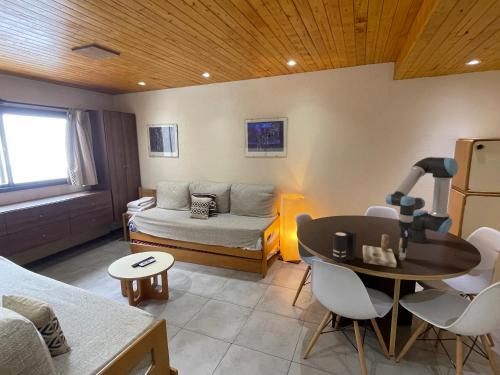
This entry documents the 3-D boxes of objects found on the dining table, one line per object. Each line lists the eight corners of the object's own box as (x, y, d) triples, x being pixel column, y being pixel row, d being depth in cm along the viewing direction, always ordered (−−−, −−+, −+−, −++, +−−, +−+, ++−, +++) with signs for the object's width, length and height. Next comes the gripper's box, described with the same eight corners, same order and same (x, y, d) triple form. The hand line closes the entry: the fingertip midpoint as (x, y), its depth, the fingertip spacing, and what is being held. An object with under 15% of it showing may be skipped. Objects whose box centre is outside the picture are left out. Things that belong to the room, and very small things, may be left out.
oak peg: (404, 258, 165) (406, 238, 163) (405, 261, 161) (408, 240, 159) (397, 257, 167) (399, 237, 164) (398, 260, 163) (400, 239, 161)
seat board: (391, 253, 173) (393, 233, 171) (396, 267, 153) (398, 245, 151) (362, 249, 180) (364, 230, 178) (363, 262, 160) (365, 241, 158)
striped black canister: (328, 258, 165) (330, 232, 162) (342, 253, 172) (343, 228, 169) (341, 264, 157) (343, 237, 154) (355, 259, 164) (356, 233, 161)
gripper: (396, 216, 169) (393, 249, 173) (401, 224, 153) (397, 260, 157) (409, 217, 166) (406, 251, 170) (415, 225, 150) (411, 262, 154)
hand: (402, 255), depth 164 cm, fingers open, 5 cm apart
